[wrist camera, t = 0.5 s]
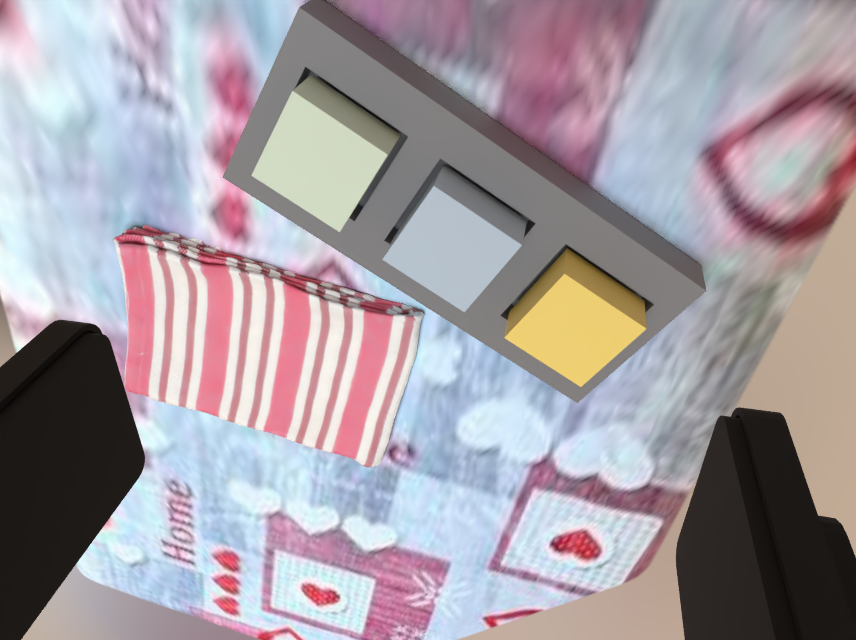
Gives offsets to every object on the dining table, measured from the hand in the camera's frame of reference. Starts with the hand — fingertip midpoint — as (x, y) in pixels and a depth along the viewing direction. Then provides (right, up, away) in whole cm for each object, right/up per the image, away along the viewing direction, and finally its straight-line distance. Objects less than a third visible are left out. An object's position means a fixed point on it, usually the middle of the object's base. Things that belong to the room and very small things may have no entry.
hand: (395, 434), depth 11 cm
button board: (+3, +9, +34) cm, 35 cm away
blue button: (+2, +7, +32) cm, 33 cm away
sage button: (-5, +12, +31) cm, 33 cm away
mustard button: (+10, +3, +34) cm, 35 cm away
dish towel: (-12, 0, +46) cm, 47 cm away
